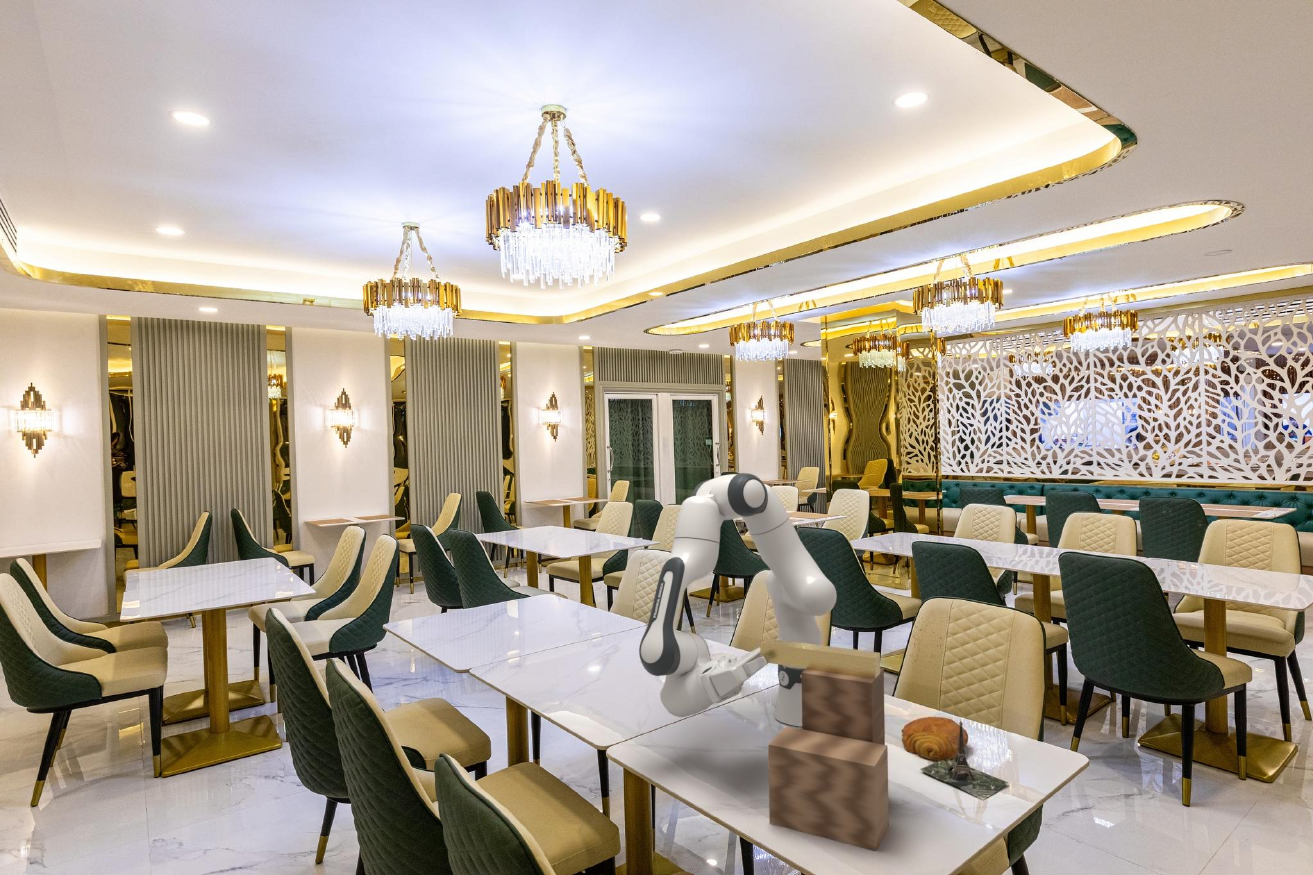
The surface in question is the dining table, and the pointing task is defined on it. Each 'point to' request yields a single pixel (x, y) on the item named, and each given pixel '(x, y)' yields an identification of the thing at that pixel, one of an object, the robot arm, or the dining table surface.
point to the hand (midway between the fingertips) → (774, 653)
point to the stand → (833, 762)
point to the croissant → (933, 738)
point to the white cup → (727, 654)
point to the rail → (821, 657)
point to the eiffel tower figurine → (964, 774)
